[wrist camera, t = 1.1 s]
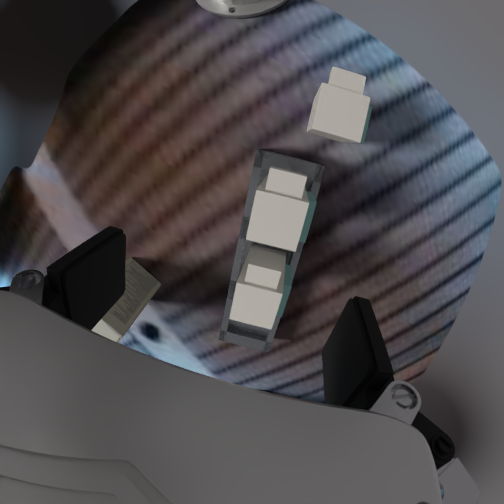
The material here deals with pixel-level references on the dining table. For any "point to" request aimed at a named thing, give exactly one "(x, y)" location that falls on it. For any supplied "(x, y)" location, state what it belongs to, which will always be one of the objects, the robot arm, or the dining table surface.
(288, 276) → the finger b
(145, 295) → the skincare box
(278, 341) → the dining table surface
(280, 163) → the rail
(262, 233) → the cream block teal side
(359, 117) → the finger loose
